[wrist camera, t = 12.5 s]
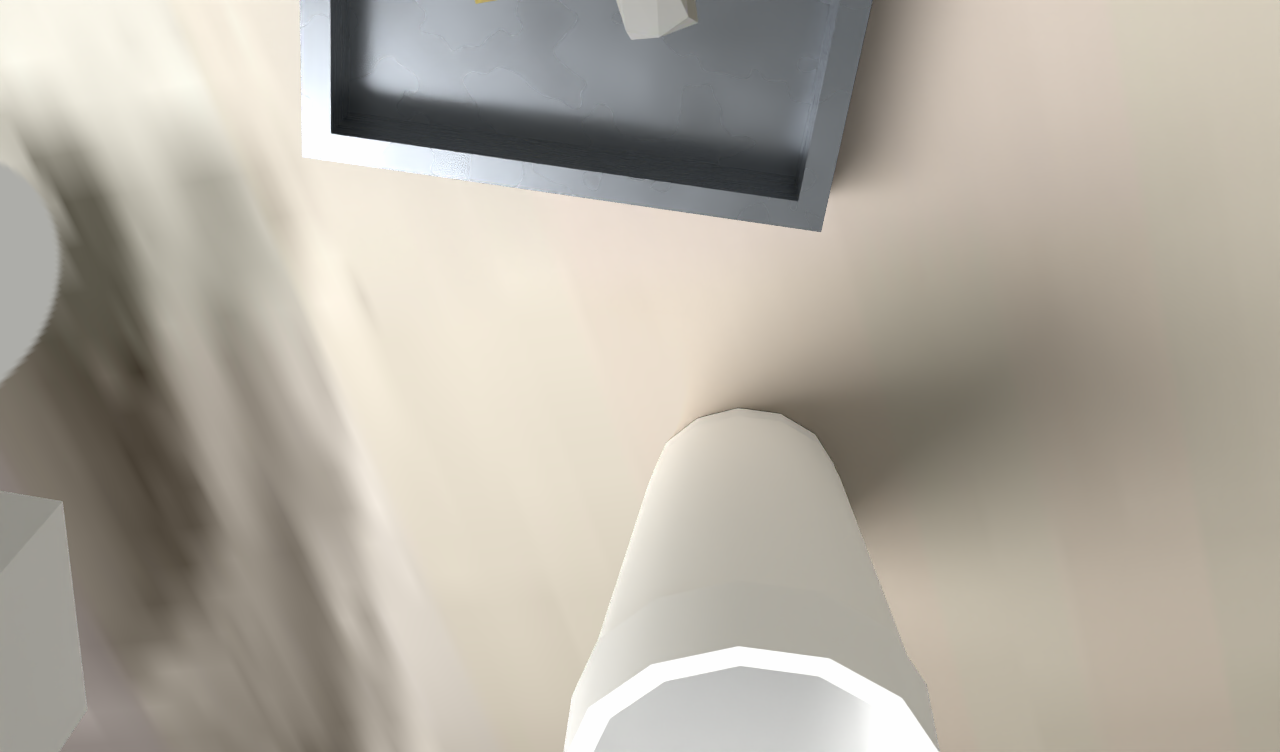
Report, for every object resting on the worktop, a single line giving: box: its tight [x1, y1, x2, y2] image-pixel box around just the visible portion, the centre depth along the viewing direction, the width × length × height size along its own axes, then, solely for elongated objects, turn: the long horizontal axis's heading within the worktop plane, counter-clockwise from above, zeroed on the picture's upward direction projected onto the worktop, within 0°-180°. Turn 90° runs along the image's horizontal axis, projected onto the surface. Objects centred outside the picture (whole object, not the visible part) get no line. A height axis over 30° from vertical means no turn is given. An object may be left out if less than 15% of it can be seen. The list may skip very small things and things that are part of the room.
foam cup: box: [564, 408, 940, 752], centre depth 36 cm, size 10×9×13 cm
